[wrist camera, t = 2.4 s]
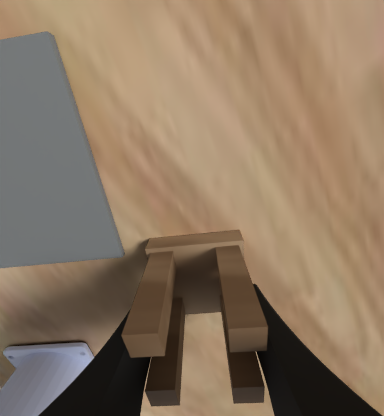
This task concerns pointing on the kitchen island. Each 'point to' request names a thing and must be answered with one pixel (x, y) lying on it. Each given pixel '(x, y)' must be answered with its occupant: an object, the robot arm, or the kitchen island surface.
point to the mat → (47, 164)
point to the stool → (196, 312)
